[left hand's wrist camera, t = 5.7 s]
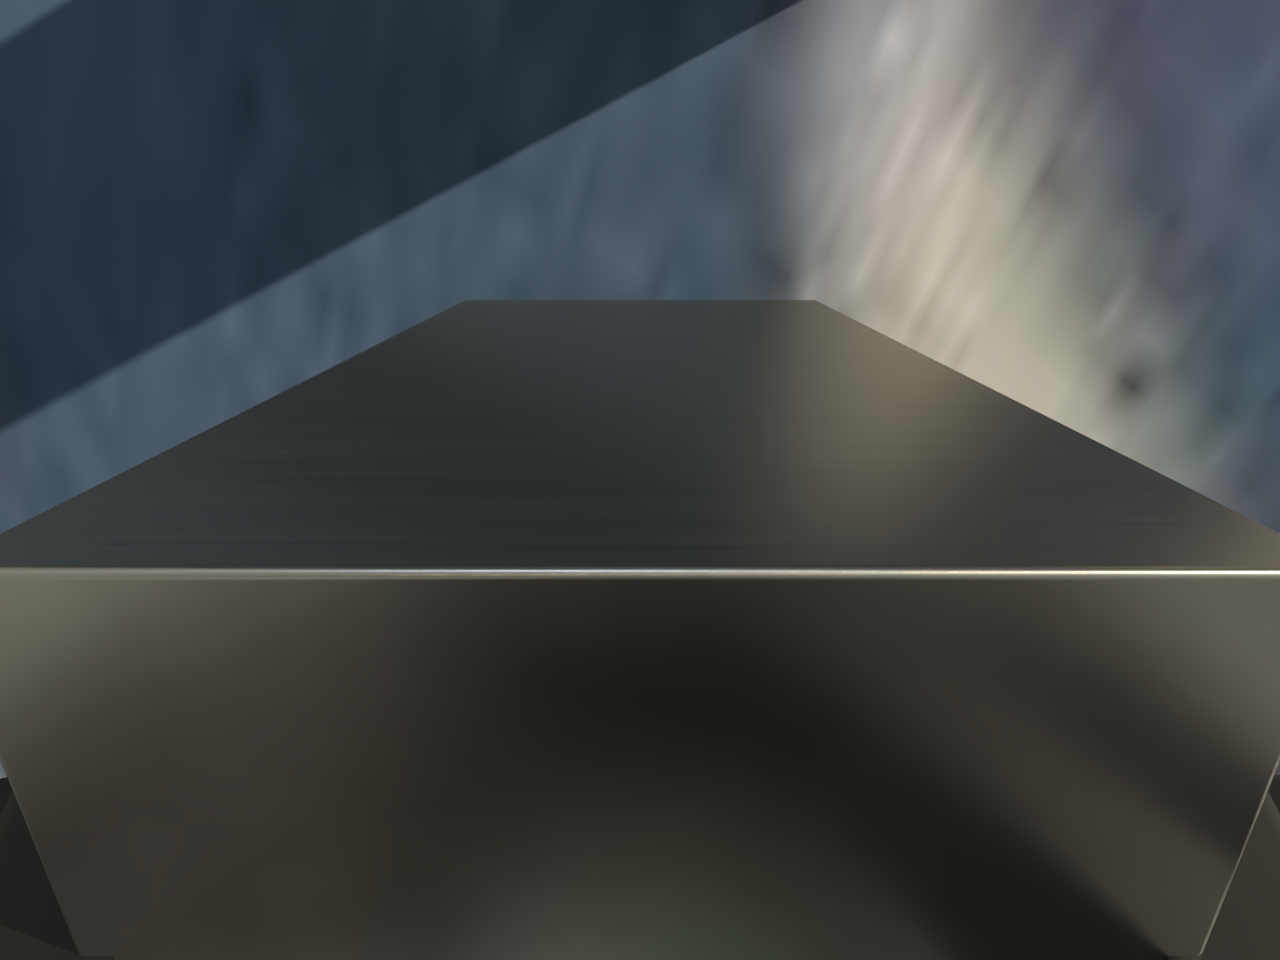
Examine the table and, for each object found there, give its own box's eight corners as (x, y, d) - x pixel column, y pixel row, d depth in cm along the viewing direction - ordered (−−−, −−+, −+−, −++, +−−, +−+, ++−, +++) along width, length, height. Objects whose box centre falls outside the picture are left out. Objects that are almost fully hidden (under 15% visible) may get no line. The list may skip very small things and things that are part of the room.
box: (462, 300, 16) (-83, 569, 4) (817, 300, 16) (1363, 569, 4) (521, 976, 24) (400, 1757, 12) (758, 976, 24) (879, 1756, 12)
